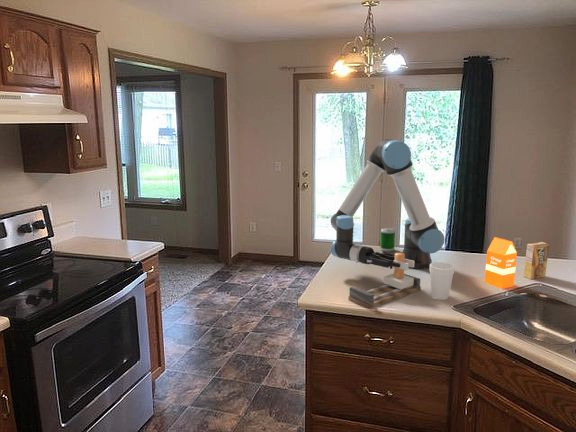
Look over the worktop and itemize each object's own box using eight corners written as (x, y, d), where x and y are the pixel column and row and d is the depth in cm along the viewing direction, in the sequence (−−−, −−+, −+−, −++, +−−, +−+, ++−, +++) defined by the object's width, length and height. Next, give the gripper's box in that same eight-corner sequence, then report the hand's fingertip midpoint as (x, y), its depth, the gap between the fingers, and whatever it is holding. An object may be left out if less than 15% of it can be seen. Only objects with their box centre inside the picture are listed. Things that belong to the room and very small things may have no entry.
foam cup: (424, 292, 189) (426, 262, 186) (446, 291, 190) (448, 261, 187) (433, 301, 180) (435, 269, 177) (456, 300, 181) (458, 269, 178)
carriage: (396, 279, 197) (397, 250, 195) (413, 285, 190) (414, 254, 188) (383, 283, 193) (384, 253, 190) (400, 289, 186) (402, 258, 183)
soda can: (394, 252, 246) (395, 230, 244) (380, 251, 248) (380, 230, 245) (394, 248, 254) (395, 227, 251) (380, 247, 255) (380, 226, 253)
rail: (399, 282, 201) (400, 271, 200) (420, 289, 192) (421, 278, 191) (348, 299, 183) (348, 287, 182) (368, 308, 174) (369, 296, 173)
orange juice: (501, 288, 193) (505, 242, 188) (484, 282, 200) (487, 238, 196) (514, 285, 196) (518, 240, 192) (496, 279, 204) (500, 235, 200)
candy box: (537, 274, 210) (541, 241, 207) (545, 277, 206) (549, 244, 203) (523, 276, 207) (526, 243, 204) (530, 279, 203) (534, 246, 200)
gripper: (372, 258, 209) (420, 269, 193) (350, 267, 196) (399, 279, 181) (373, 242, 207) (421, 252, 191) (351, 250, 195) (400, 261, 179)
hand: (410, 265), depth 186 cm, fingers closed on carriage, 4 cm apart
